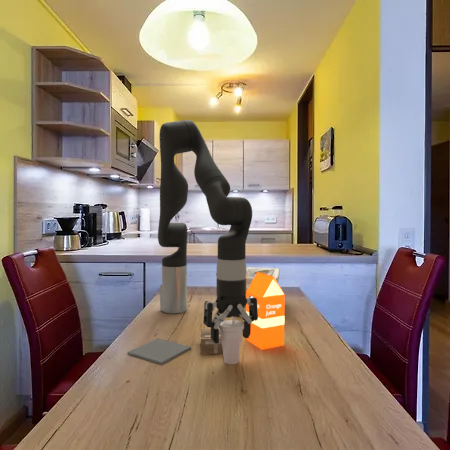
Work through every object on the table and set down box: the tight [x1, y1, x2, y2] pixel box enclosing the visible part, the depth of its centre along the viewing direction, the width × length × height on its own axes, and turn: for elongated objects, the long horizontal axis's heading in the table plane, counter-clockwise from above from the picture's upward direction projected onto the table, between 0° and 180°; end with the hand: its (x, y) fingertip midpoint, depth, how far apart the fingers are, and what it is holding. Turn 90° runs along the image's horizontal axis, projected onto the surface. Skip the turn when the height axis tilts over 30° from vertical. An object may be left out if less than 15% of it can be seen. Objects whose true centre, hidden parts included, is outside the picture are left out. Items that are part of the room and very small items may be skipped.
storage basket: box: [244, 266, 280, 311], centre depth 140 cm, size 24×16×15 cm
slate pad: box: [127, 337, 192, 365], centre depth 98 cm, size 12×12×1 cm
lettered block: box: [200, 328, 223, 355], centre depth 101 cm, size 8×8×4 cm
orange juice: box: [245, 272, 286, 351], centre depth 105 cm, size 8×9×20 cm
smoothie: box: [218, 316, 244, 365], centre depth 92 cm, size 6×6×14 cm
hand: (231, 339), depth 92 cm, fingers open, 8 cm apart
